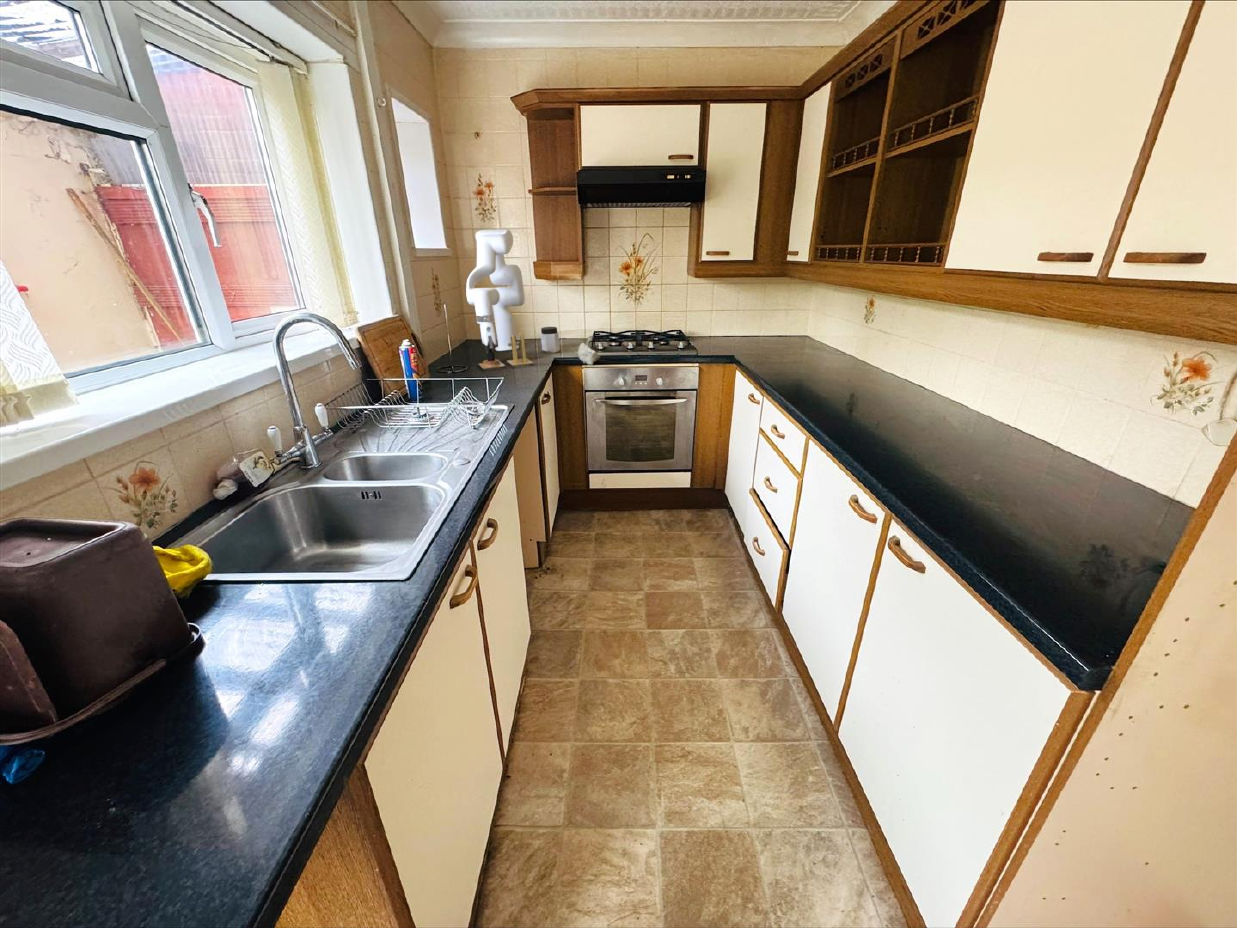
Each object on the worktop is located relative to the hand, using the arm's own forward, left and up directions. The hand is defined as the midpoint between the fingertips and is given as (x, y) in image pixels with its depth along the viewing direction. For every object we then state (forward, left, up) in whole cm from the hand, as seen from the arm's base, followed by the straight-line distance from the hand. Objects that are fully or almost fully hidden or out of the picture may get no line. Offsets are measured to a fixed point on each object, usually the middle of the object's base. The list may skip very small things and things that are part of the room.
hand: (490, 360), depth 232 cm
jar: (-20, +35, -3) cm, 41 cm away
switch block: (0, 0, -3) cm, 3 cm away
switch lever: (-3, +13, +6) cm, 15 cm away
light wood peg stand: (+1, +13, -3) cm, 14 cm away
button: (0, 0, -2) cm, 2 cm away
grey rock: (+20, +42, -3) cm, 47 cm away
